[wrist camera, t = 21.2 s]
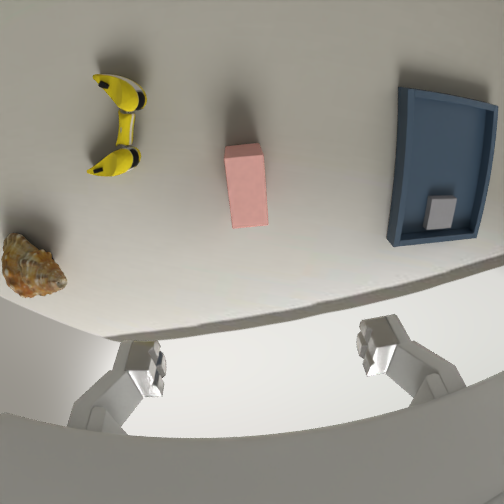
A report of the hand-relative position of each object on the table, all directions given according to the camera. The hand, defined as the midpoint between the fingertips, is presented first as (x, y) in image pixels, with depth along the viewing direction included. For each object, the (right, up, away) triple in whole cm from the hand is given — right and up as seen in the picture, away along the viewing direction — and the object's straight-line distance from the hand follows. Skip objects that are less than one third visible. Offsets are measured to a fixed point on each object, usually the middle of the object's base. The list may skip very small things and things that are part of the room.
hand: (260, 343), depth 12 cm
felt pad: (+22, +9, +20) cm, 31 cm away
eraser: (-1, +11, +18) cm, 21 cm away
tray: (+22, +13, +18) cm, 31 cm away
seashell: (-27, +3, +21) cm, 35 cm away
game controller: (-13, +16, +14) cm, 25 cm away
